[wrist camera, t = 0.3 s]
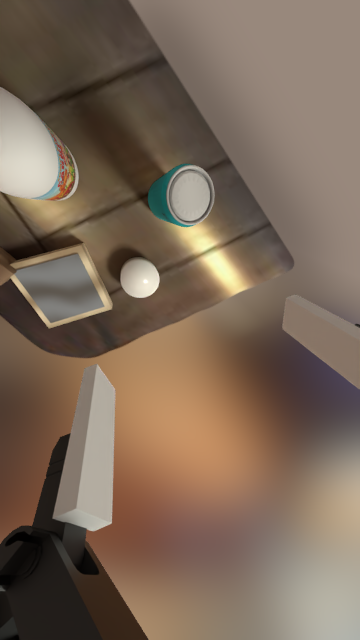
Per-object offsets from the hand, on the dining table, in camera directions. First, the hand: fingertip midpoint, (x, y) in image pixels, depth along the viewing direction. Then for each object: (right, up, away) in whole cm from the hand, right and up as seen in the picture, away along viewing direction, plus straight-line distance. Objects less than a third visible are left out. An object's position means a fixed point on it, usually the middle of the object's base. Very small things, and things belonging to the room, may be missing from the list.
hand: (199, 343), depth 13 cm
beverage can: (-4, +22, +19) cm, 29 cm away
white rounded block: (-9, +10, +24) cm, 28 cm away
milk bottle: (-20, +23, +14) cm, 33 cm away
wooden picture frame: (-22, +8, +22) cm, 32 cm away
